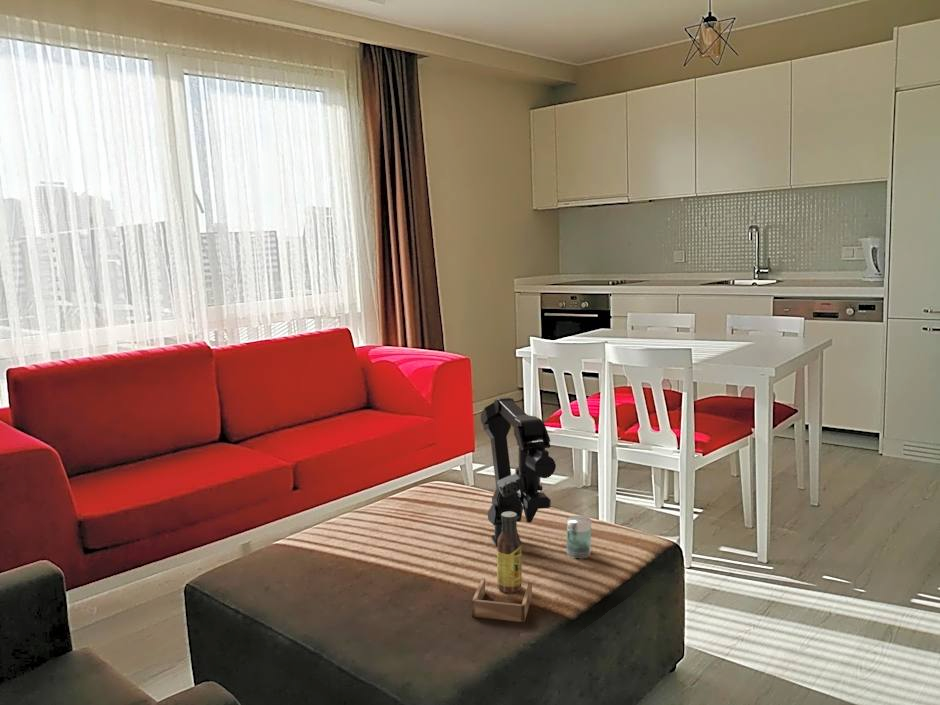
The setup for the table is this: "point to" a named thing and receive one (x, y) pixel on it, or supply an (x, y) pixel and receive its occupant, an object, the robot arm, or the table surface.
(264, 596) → the table surface
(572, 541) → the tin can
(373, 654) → the table surface
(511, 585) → the sauce bottle
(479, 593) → the crate
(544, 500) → the robot arm
